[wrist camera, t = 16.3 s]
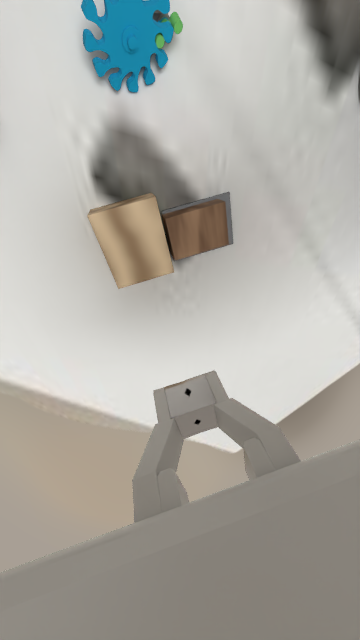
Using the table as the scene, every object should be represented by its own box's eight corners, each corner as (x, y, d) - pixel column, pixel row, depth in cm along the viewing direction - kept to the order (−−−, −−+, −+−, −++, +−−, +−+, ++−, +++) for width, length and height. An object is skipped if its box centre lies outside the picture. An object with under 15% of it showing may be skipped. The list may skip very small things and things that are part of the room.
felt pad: (228, 191, 40) (229, 192, 39) (232, 243, 45) (233, 243, 45) (161, 210, 39) (162, 211, 38) (173, 260, 44) (174, 261, 44)
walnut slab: (161, 214, 39) (217, 198, 39) (171, 254, 43) (221, 239, 43) (165, 218, 36) (225, 201, 37) (175, 260, 40) (228, 244, 41)
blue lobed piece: (97, 102, 29) (70, -34, 19) (82, 66, 30) (49, -82, 20) (178, 89, 31) (192, -39, 21) (162, 56, 32) (168, -82, 22)
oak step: (151, 192, 37) (155, 196, 33) (168, 262, 44) (174, 272, 40) (90, 209, 36) (87, 215, 32) (118, 277, 43) (118, 288, 39)
